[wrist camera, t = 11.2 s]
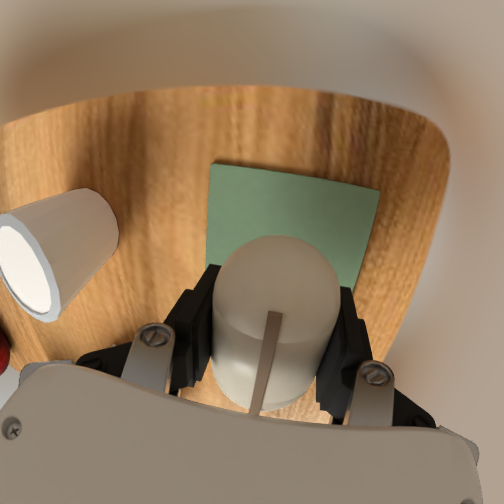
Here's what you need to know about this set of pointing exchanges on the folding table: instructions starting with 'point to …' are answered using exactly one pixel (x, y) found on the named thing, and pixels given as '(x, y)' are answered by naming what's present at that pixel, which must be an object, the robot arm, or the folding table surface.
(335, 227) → the mat
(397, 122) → the folding table surface
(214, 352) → the cream rounded oblong block
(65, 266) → the white cup
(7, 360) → the fruit
